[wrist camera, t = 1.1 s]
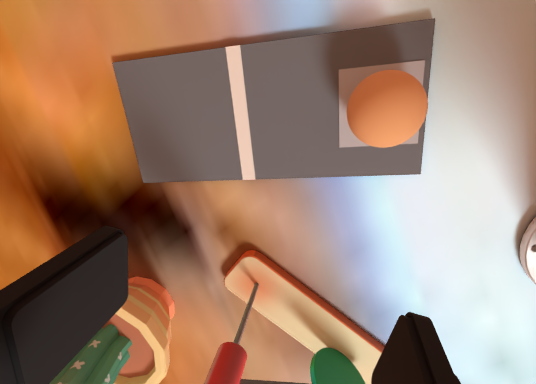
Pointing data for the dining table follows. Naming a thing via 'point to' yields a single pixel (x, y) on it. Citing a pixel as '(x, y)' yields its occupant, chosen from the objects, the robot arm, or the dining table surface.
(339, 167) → the mat
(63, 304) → the robot arm
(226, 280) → the crank mechanism
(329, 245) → the dining table surface
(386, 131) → the ball
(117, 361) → the potted cactus
